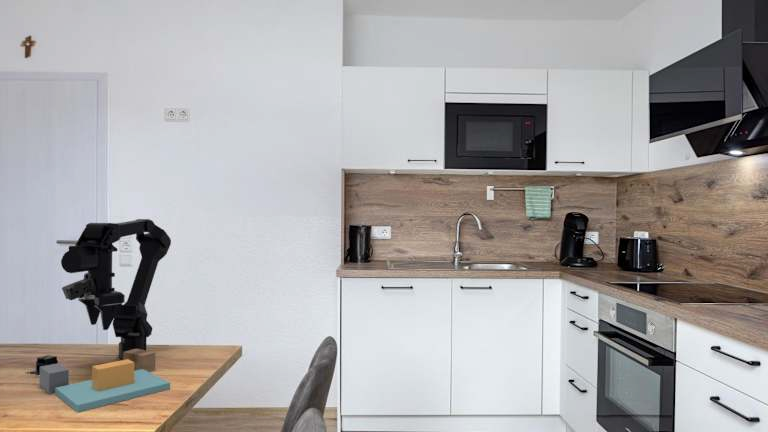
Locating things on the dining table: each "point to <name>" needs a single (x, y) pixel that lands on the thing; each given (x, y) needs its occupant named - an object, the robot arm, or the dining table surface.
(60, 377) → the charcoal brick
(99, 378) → the orange brick
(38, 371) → the black angular block
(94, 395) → the teal board
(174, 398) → the dining table surface
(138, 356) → the walnut brick
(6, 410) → the dining table surface
